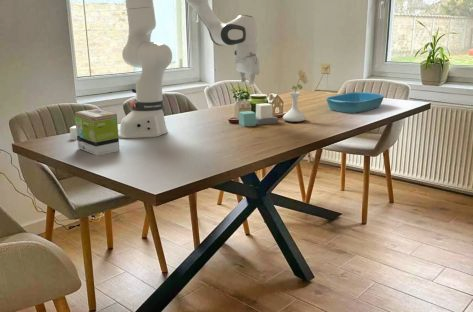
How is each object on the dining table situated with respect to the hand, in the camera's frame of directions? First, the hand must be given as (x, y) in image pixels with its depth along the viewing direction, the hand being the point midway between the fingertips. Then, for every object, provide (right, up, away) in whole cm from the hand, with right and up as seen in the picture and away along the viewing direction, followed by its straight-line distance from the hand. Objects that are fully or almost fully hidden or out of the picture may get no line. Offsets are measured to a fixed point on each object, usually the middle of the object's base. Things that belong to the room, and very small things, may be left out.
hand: (247, 83), depth 223 cm
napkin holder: (-73, -26, -14) cm, 79 cm away
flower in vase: (+24, -17, +13) cm, 32 cm away
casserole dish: (+60, -8, +45) cm, 75 cm away
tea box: (-58, -32, -37) cm, 76 cm away
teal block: (0, -19, +5) cm, 20 cm away
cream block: (+8, -15, +11) cm, 20 cm away
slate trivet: (+8, -17, +11) cm, 22 cm away
